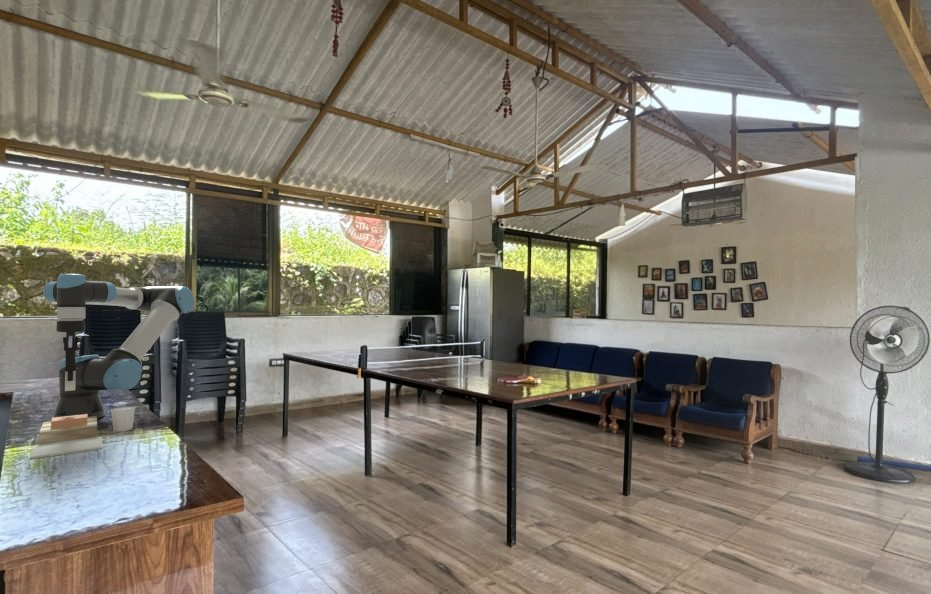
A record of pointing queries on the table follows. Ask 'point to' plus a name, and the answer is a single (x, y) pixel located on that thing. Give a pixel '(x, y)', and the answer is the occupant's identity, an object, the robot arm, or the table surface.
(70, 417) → the terracotta block
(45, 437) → the board
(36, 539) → the table surface
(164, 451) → the table surface
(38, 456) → the grey mat
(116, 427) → the shot glass
